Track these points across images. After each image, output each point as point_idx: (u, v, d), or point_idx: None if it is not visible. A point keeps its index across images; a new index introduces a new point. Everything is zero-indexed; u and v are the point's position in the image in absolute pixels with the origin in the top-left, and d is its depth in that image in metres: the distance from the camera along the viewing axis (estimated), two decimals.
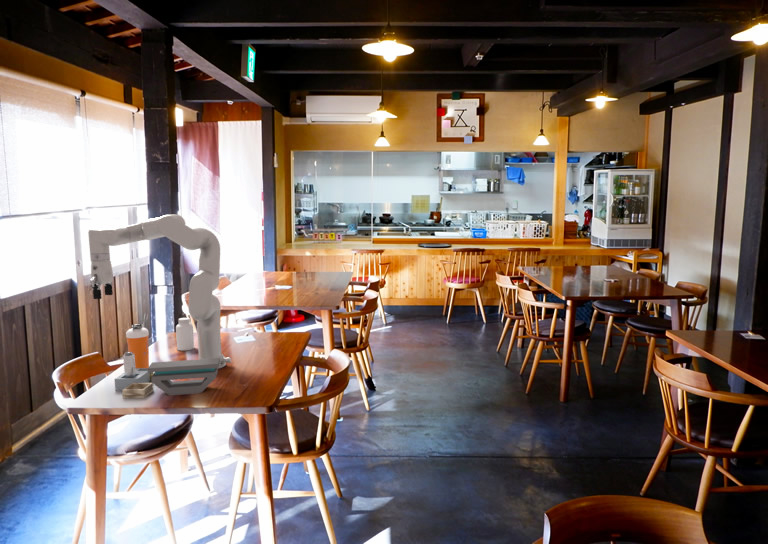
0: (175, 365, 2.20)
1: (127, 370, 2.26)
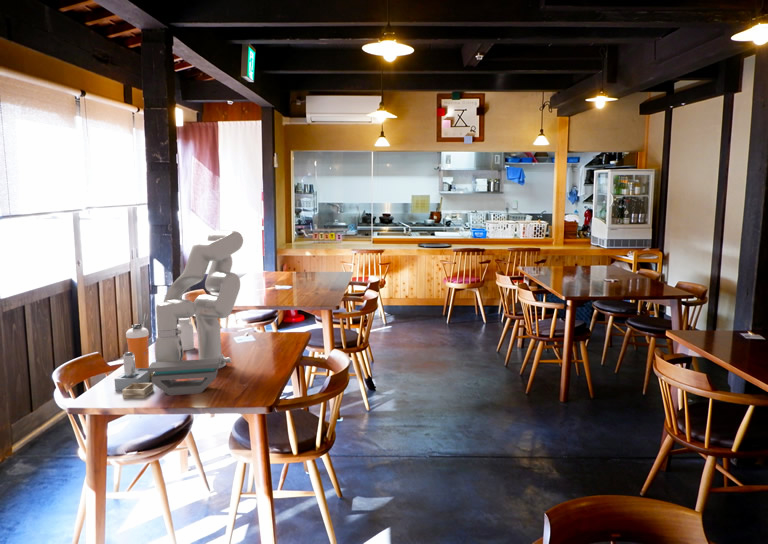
0: (175, 365, 2.20)
1: (127, 370, 2.26)
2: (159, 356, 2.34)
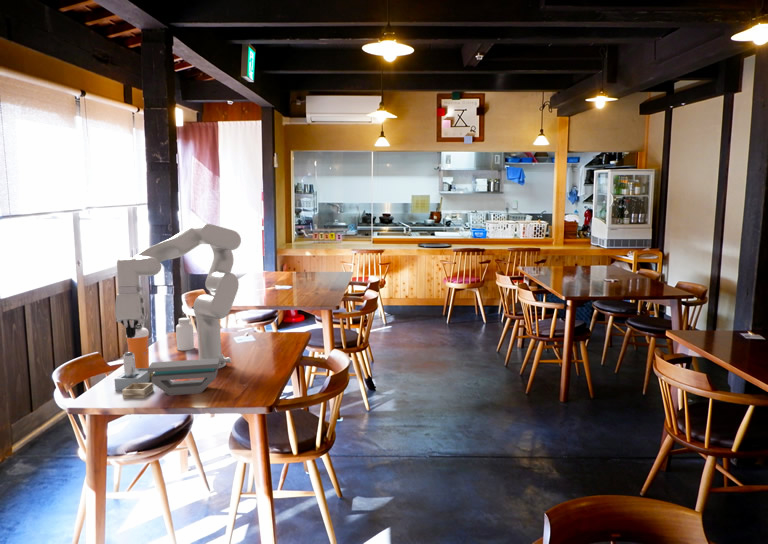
0: (175, 365, 2.20)
1: (127, 370, 2.26)
2: (119, 314, 2.24)
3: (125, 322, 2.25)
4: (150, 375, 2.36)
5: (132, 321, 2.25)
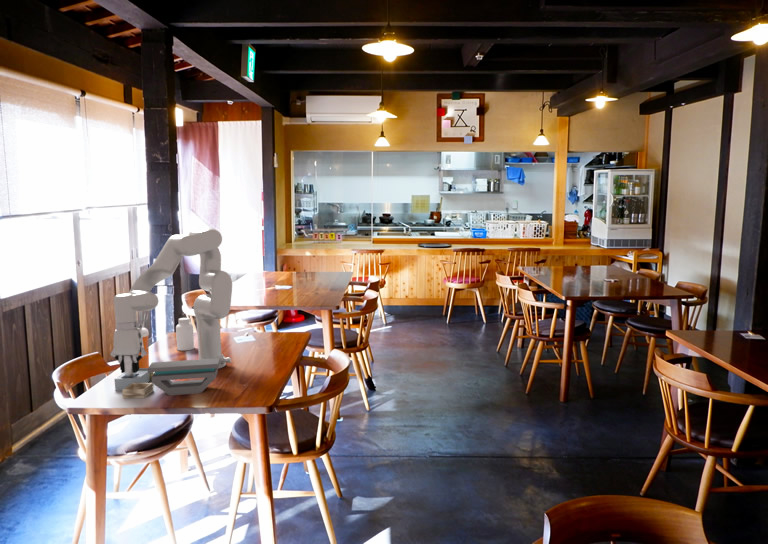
0: (175, 365, 2.20)
1: (127, 370, 2.26)
2: (117, 349, 2.25)
3: (120, 357, 2.27)
4: (150, 375, 2.36)
5: (134, 356, 2.26)
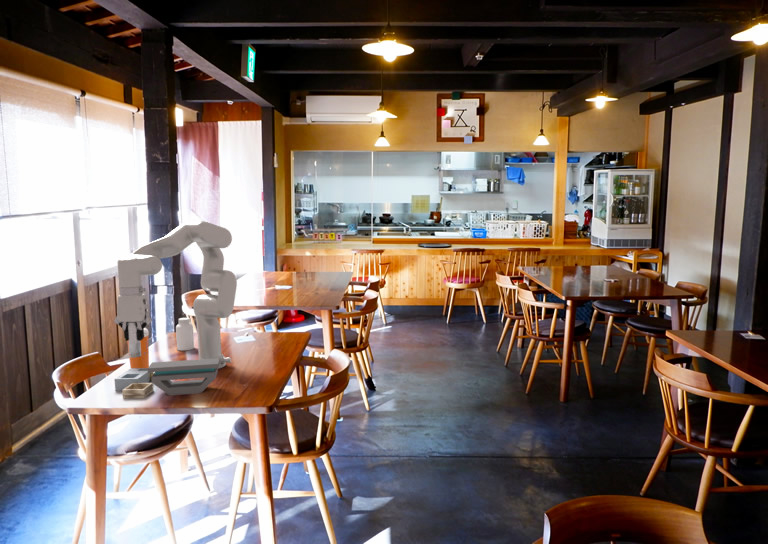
0: (175, 365, 2.20)
1: (131, 337, 2.16)
2: (121, 316, 2.15)
3: (124, 324, 2.16)
4: (150, 375, 2.36)
5: (138, 323, 2.16)
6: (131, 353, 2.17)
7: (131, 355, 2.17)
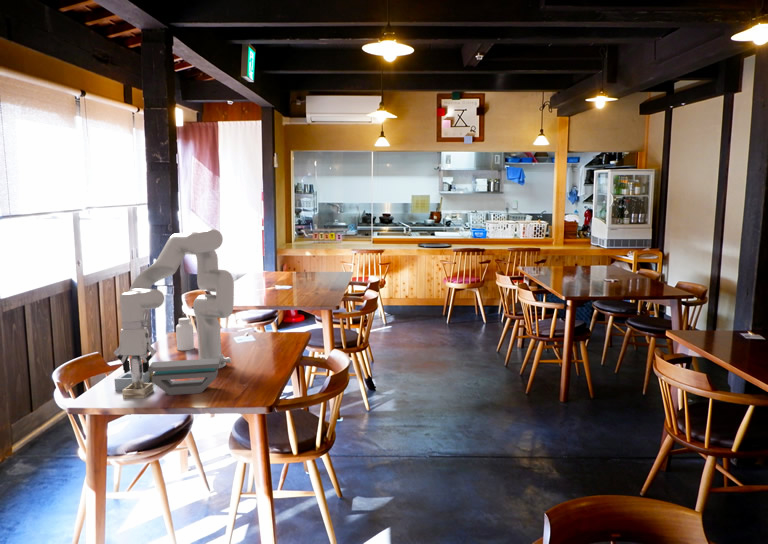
0: (176, 364, 2.20)
1: (134, 373, 2.18)
2: (124, 350, 2.17)
3: (124, 357, 2.18)
4: (150, 375, 2.36)
5: (142, 356, 2.18)
6: None
7: None
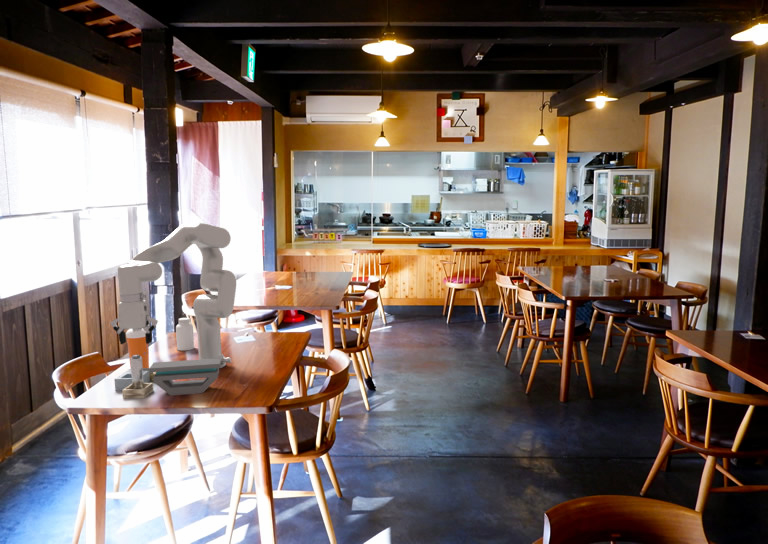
0: (177, 365, 2.20)
1: (134, 373, 2.18)
2: (123, 323, 2.16)
3: (120, 329, 2.17)
4: (150, 375, 2.36)
5: (144, 328, 2.17)
6: None
7: None
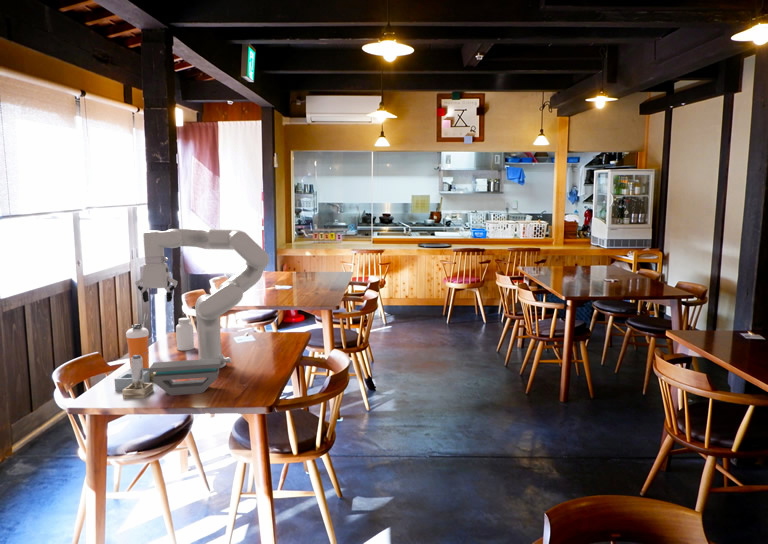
0: (177, 365, 2.20)
1: (134, 373, 2.18)
2: (147, 282, 2.41)
3: (144, 288, 2.42)
4: (150, 375, 2.36)
5: (165, 287, 2.42)
6: None
7: None
